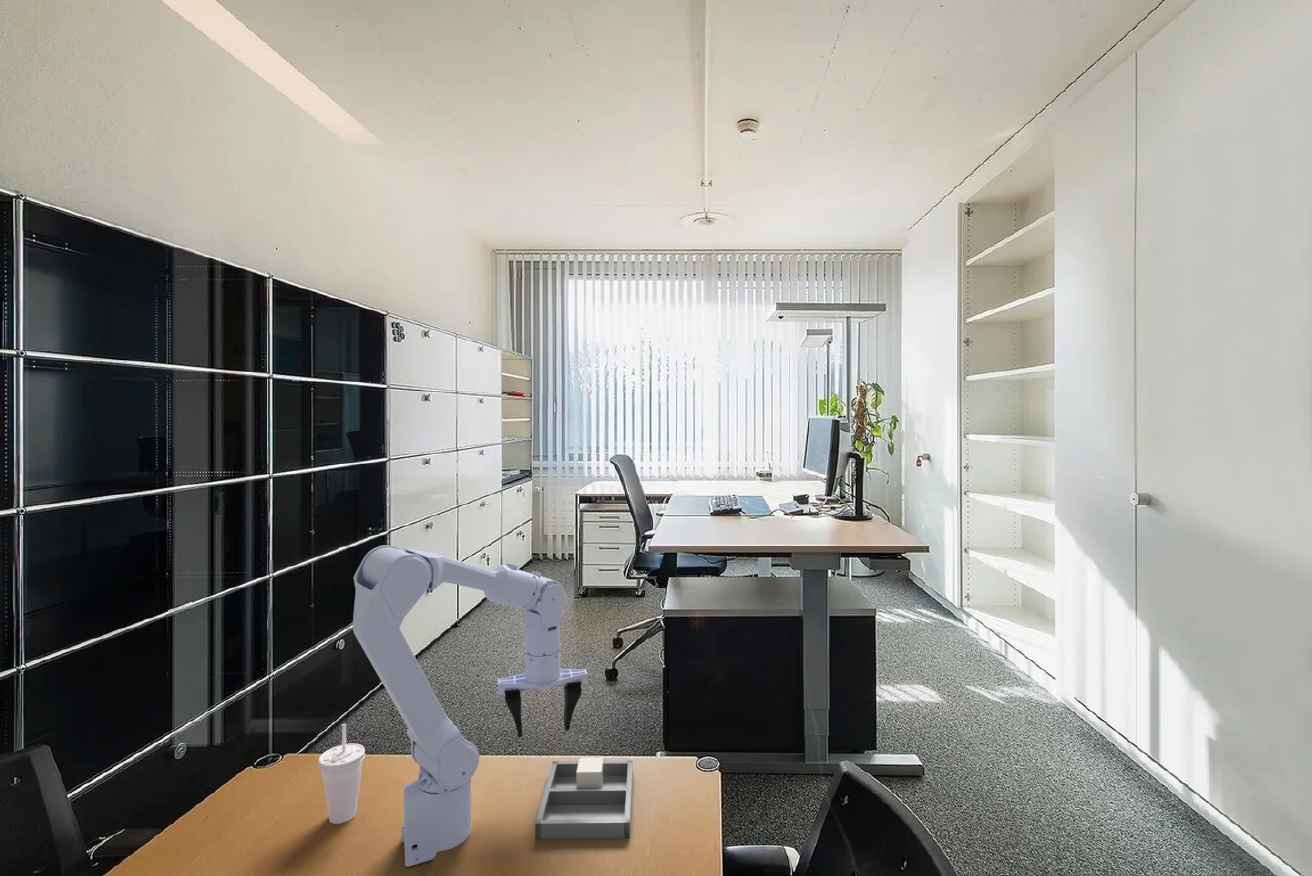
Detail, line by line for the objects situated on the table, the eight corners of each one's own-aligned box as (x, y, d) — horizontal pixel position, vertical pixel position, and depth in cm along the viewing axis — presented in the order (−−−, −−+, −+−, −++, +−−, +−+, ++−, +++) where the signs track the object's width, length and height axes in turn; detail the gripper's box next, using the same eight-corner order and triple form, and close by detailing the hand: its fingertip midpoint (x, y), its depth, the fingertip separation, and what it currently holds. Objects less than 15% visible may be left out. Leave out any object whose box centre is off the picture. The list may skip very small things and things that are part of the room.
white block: (576, 797, 93) (576, 772, 93) (579, 782, 97) (579, 758, 97) (601, 796, 93) (601, 772, 93) (603, 781, 97) (603, 757, 97)
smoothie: (374, 803, 93) (373, 717, 92) (349, 831, 86) (348, 738, 86) (336, 801, 93) (335, 715, 93) (309, 828, 87) (307, 736, 87)
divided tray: (535, 844, 83) (535, 823, 83) (553, 778, 99) (553, 761, 99) (629, 843, 84) (629, 822, 84) (632, 777, 99) (632, 760, 99)
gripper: (497, 664, 91) (498, 750, 91) (589, 654, 95) (590, 736, 95) (497, 647, 97) (498, 727, 98) (583, 639, 101) (584, 716, 102)
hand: (543, 731), depth 97 cm, fingers open, 7 cm apart
